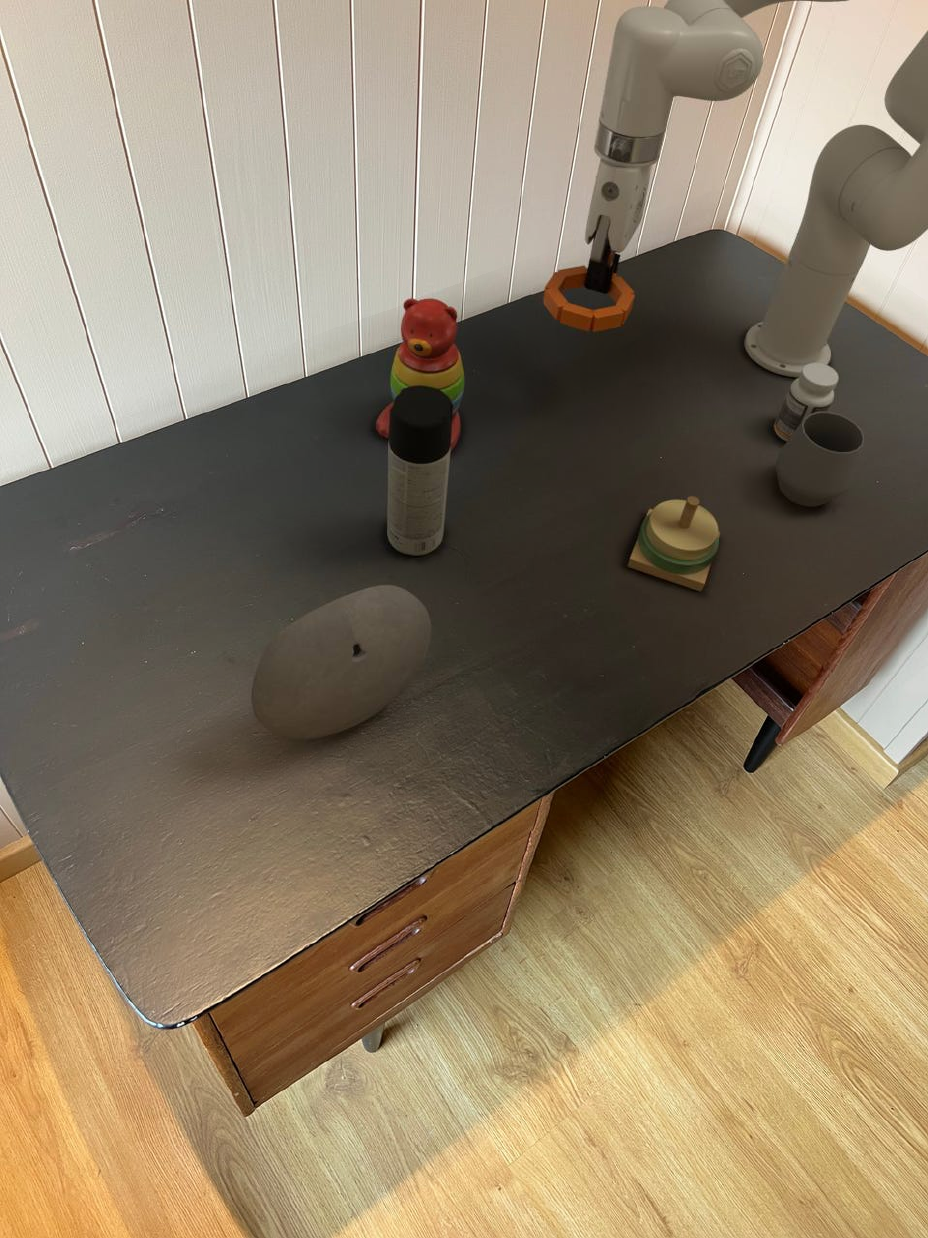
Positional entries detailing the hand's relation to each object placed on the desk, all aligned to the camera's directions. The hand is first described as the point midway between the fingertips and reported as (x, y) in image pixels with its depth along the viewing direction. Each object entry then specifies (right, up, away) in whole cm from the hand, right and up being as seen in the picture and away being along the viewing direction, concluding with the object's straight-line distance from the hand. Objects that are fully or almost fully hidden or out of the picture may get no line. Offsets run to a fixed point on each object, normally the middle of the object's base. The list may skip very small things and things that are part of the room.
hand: (599, 284), depth 117 cm
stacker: (+8, -35, -7) cm, 37 cm away
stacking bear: (-23, -17, +4) cm, 29 cm away
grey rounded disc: (-29, -53, -24) cm, 65 cm away
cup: (+26, -26, +1) cm, 37 cm away
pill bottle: (+28, -17, +8) cm, 34 cm away
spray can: (-23, -33, -9) cm, 41 cm away
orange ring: (-2, -3, -2) cm, 5 cm away
